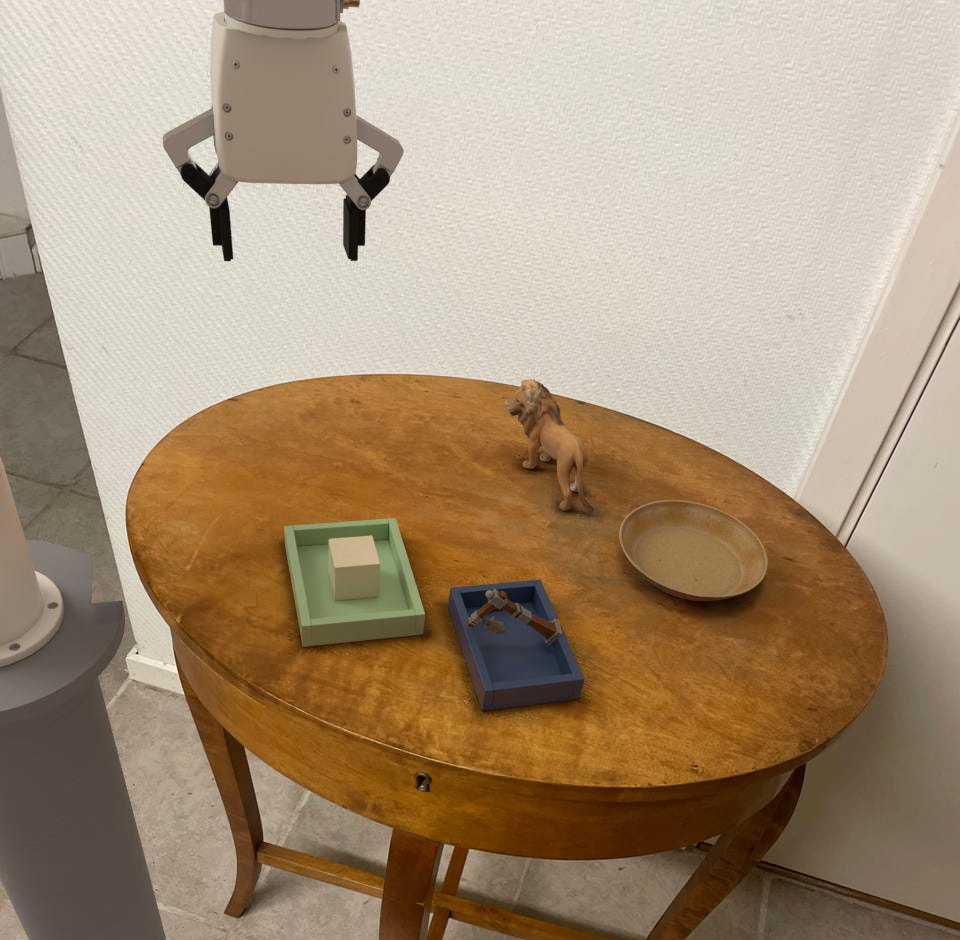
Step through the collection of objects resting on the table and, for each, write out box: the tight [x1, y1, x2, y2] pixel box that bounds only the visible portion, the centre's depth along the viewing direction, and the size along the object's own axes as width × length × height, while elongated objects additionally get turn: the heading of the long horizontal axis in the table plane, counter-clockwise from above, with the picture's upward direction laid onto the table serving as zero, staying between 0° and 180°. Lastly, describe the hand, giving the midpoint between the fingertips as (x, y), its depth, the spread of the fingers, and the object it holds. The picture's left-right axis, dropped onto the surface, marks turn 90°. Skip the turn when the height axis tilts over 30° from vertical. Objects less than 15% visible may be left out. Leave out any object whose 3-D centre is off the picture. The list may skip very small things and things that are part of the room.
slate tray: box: [447, 579, 585, 712], centre depth 83 cm, size 9×13×2 cm
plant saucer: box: [618, 499, 769, 602], centre depth 94 cm, size 15×15×3 cm
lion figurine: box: [504, 378, 596, 514], centre depth 100 cm, size 15×5×9 cm, turn 35°
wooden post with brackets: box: [466, 589, 562, 646], centre depth 81 cm, size 2×8×4 cm
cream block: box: [328, 536, 380, 601], centre depth 85 cm, size 4×4×4 cm
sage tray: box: [283, 517, 426, 648], centre depth 86 cm, size 11×14×2 cm
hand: (289, 253), depth 75 cm, fingers open, 9 cm apart
